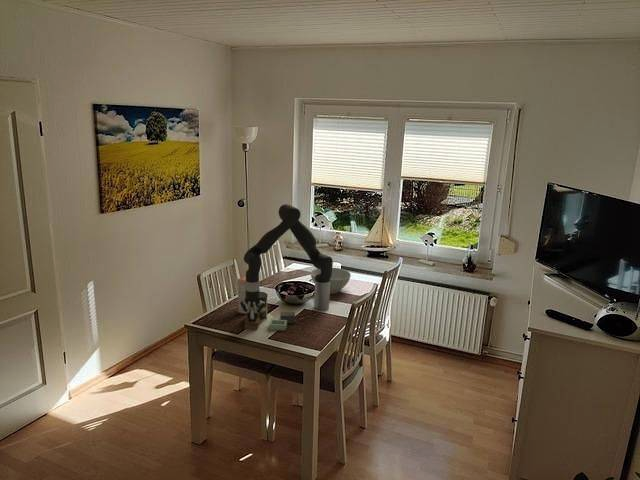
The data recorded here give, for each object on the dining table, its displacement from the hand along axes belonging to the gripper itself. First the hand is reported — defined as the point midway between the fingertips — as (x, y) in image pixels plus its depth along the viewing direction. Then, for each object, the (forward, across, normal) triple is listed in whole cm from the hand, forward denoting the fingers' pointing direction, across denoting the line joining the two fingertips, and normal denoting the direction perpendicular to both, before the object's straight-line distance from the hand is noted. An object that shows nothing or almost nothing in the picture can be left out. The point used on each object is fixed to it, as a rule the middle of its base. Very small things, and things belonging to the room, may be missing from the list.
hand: (252, 318), depth 252 cm
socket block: (+5, 0, 0) cm, 5 cm away
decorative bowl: (+5, -40, -63) cm, 75 cm away
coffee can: (+5, -1, -12) cm, 13 cm away
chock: (+5, -18, -10) cm, 21 cm away
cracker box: (+5, +7, -23) cm, 25 cm away
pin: (+4, 0, 0) cm, 4 cm away
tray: (+5, -14, -1) cm, 15 cm away
